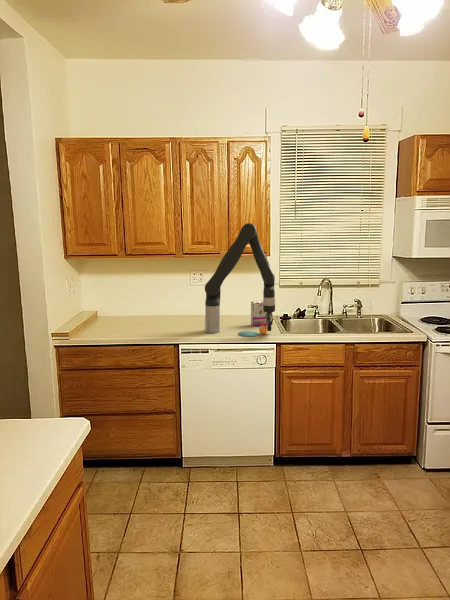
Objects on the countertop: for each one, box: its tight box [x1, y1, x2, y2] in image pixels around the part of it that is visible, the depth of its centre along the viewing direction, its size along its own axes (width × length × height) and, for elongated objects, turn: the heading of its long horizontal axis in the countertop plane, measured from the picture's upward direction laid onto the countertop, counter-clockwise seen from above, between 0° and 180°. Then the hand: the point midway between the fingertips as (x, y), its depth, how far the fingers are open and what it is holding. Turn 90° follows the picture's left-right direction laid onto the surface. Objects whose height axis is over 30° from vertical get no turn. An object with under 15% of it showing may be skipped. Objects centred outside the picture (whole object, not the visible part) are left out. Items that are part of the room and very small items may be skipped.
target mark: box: [237, 330, 260, 338], centre depth 283 cm, size 13×13×1 cm
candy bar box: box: [250, 300, 267, 327], centre depth 304 cm, size 11×5×16 cm, turn 105°
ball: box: [258, 325, 269, 335], centre depth 283 cm, size 6×6×6 cm
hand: (269, 330), depth 283 cm, fingers closed
